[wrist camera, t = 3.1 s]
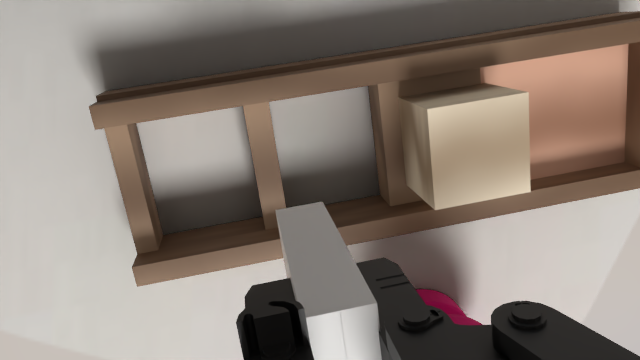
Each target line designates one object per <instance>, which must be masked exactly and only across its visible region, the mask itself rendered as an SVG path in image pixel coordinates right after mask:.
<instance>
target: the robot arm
mask: <svg viewBox="0 0 640 360" xmlns="http://www.w3.org/2000/svg"><path fill="white" fill-rule="evenodd" d="M275 211H276V217H277V223H278V228H279V234H280V240H281V246H282V251H283V257H284V263H285V269H286V274H287V279H283V280H278V281H273V282H268V283H263V284H258V285H253V286H252V287H251V288H250V290H249V291H248V293H247V294H246V296H245V309H244V310H243V311H242V312H241V313H240V314H239V316H238V319H237V322H236V324H237V329H238V334H239V339H240V343H241V348H242V353H243V358H244V360H640V356H638V355H636V354H634V353H632V352H631V351H629V350H627V349H625V348H623V347H622V346H620V345H618V344H616V343H614V342H613V341H611V340H609V339H607V338H605V337H604V336H602V335H600V334H598V333H596V332H595V331H593V330H591V329H589V328H587V327H586V326H584V325H582V324H580V323H578V322H577V321H575V320H573V319H571V318H569V317H568V316H566V315H564V314H562V313H560V312H559V311H557V310H555V309H553V308H551V307H548V306H546V305H543V304H541V303H535V302H530V301H515V302H511V303H507V304H503V305H501V306H499V307H498V308H496V309H495V310H494V311H493V313H492V315H491V325H459V324H455V323H454V322H453V321H452V320H451V318H450V317H449V316H448V315H447V314H446V313H445V312H444V311H443V310H441V309H439V308H436V307H433V306H430V305H426V304H425V302H424V301H423V300H422V298H421V297H420V295H419V294H418V293H417V291H416V290H415V288H414V287H413V286H412V284H411V283H410V282H409V280H408V279H407V277H406V276H404V273H403V272H402V270H401V269H400V267H399V266H398V265H397V264H396V263H394V262H392V261H390V260H388V259H386V258H380V259H375V260H370V261H365V262H360V263H355V261H354V259H353V257H352V255H351V254H350V252H349V250H348V248H347V246H346V244H345V242H344V241H343V239H342V237H341V235H340V233H339V231H338V229H337V228H336V226H335V224H334V222H333V220H332V218H331V216H330V215H329V213H328V211H327V209H326V207H325V205H324V203H323V202H317V203H311V204H306V205H301V206H295V207H290V208H284V209H279V210H275Z"/></svg>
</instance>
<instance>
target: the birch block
mask: <svg viewBox="0 0 640 360" xmlns="http://www.w3.org/2000/svg"><path fill="white" fill-rule="evenodd" d="M398 100H399V111H400V121H401V132H402V143H403V153H404V164H405V175H406V185H407V186H408V187H410V188H411V189H412V190H413V191H414V192H415V193H416V194H417V195H419V196H420V197H421V198H422V199H423V200H424V201H425V202H426V203H428V204H429V205H430V206H431V207H432V208H433V209H434V210H439V209H444V208H449V207H455V206H460V205H465V204H470V203H475V202H481V201H486V200H491V199H496V198H501V197H507V196H512V195H517V194H522V193H528V192H531V186H530V137H529V92H525V91H521V90H516V89H511V88H507V87H502V86H497V85H493V84H488V83H482V84H476V85H470V86H464V87H458V88H452V89H446V90H440V91H434V92H428V93H422V94H416V95H410V96H404V97H398Z"/></svg>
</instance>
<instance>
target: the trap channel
mask: <svg viewBox="0 0 640 360" xmlns="http://www.w3.org/2000/svg"><path fill="white" fill-rule="evenodd" d="M482 83H488V84H493V85H497V86H502V87H507V88H511V89H516V90H521V91H525V92H529V137H530V186H531V192H528V193H522V194H517V195H512V196H507V197H501V198H496V199H491V200H486V201H481V202H475V203H470V204H465V205H460V206H455V207H449V208H444V209H439V210H434V209H433V208H432V207H431V206H430V205H429V204H428V203H426V202H425V201H424V200H423V199H422V198H421V197H420V196H419V195H417V194H416V193H415V192H414V191H413V190H412V189H411V188H410V187H408V186H407V185H406V175H405V164H404V153H403V143H402V132H401V121H400V111H399V100H398V97H404V96H410V95H416V94H422V93H428V92H434V91H440V90H446V89H452V88H458V87H464V86H470V85H476V84H482ZM363 86H368V90H369V99H370V108H371V117H372V126H373V135H374V144H375V153H376V162H377V171H378V181H379V190H380V195H376V196H371V197H365V198H360V199H354V200H349V201H344V202H338V203H333V204H328V205H325V207H326V209H327V211H328V213H329V215H330V216H331V218H332V220H333V222H334V224H335V226H336V228H337V229H338V231H339V233H340V235H341V237H342V239H343V241H344V242H345V244H346V246H347V245H352V244H357V243H362V242H367V241H373V240H378V239H383V238H388V237H393V236H398V235H403V234H408V233H413V232H419V231H424V230H429V229H434V228H439V227H444V226H449V225H454V224H459V223H464V222H470V221H475V220H480V219H485V218H490V217H495V216H500V215H505V214H510V213H516V212H521V211H526V210H531V209H536V208H541V207H546V206H551V205H556V204H561V203H567V202H572V201H577V200H582V199H587V198H592V197H597V196H602V195H607V194H613V193H618V192H623V191H628V190H633V189H638V188H640V11H638V12H618V13H612V14H605V15H599V16H592V17H586V18H579V19H573V20H566V21H560V22H553V23H547V24H540V25H534V26H527V27H521V28H514V29H508V30H501V31H495V32H488V33H482V34H475V35H468V36H462V37H455V38H449V39H442V40H436V41H429V42H423V43H416V44H410V45H403V46H397V47H390V48H384V49H377V50H371V51H364V52H358V53H351V54H345V55H338V56H332V57H325V58H319V59H312V60H306V61H299V62H293V63H286V64H280V65H273V66H267V67H260V68H253V69H247V70H240V71H234V72H227V73H221V74H214V75H208V76H201V77H195V78H188V79H182V80H175V81H169V82H162V83H156V84H149V85H143V86H136V87H130V88H123V89H117V90H110V91H105V92H103V93H101V94H99V95H97V96H96V98H97V102H96V103H94V104H92V105H91V106H89V109H90V113H91V117H92V120H93V124H94V128H95V130H96V129H103V128H104V129H105V133H106V136H107V140H108V144H109V148H110V152H111V155H112V159H113V163H114V167H115V171H116V174H117V178H118V182H119V186H120V190H121V193H122V197H123V201H124V205H125V209H126V212H127V216H128V220H129V224H130V228H131V231H132V235H133V239H134V243H135V247H136V251H137V256H136V259H135V261H134V264H133V266H132V269H133V273H134V277H135V281H136V284H137V287H138V286H143V285H148V284H153V283H158V282H163V281H168V280H174V279H179V278H184V277H189V276H194V275H199V274H204V273H209V272H214V271H219V270H225V269H230V268H235V267H240V266H245V265H250V264H255V263H260V262H265V261H270V260H276V259H281V258H284V257H283V251H282V246H281V240H280V234H279V228H278V223H277V217H276V211H275V210H279V209H284V208H286V204H285V198H284V192H283V186H282V180H281V174H280V168H279V162H278V156H277V150H276V144H275V138H274V132H273V126H272V120H271V114H270V108H269V102H270V101H276V100H283V99H289V98H295V97H301V96H307V95H314V94H320V93H326V92H332V91H338V90H345V89H351V88H357V87H363ZM239 106H243V109H244V115H245V120H246V126H247V131H248V137H249V142H250V148H251V153H252V159H253V164H254V170H255V175H256V181H257V186H258V192H259V197H260V203H261V208H262V214H263V217H258V218H252V219H247V220H242V221H236V222H231V223H225V224H220V225H215V226H209V227H204V228H199V229H193V230H188V231H182V232H177V233H172V234H166V235H163V232H162V228H161V224H160V220H159V216H158V212H157V207H156V203H155V199H154V195H153V191H152V187H151V183H150V179H149V175H148V171H147V167H146V162H145V158H144V154H143V150H142V146H141V142H140V138H139V134H138V130H137V126H136V123H140V122H146V121H152V120H158V119H165V118H171V117H177V116H183V115H189V114H196V113H202V112H208V111H214V110H220V109H227V108H233V107H239Z"/></svg>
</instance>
